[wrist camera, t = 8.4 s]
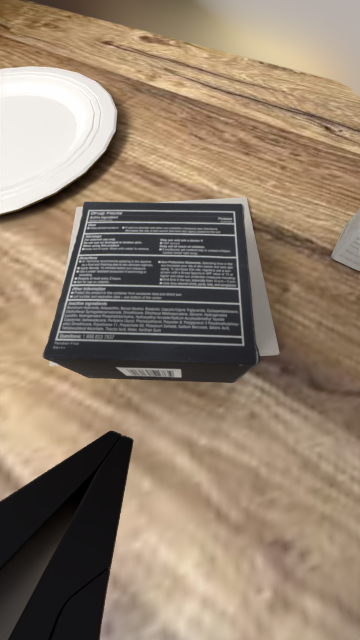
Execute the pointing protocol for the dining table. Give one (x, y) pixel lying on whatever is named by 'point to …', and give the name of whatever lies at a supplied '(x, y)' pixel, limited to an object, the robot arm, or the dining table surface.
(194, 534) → the dining table surface
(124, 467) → the robot arm
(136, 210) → the small box
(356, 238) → the skincare box
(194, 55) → the dining table surface
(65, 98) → the plate
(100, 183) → the dining table surface
